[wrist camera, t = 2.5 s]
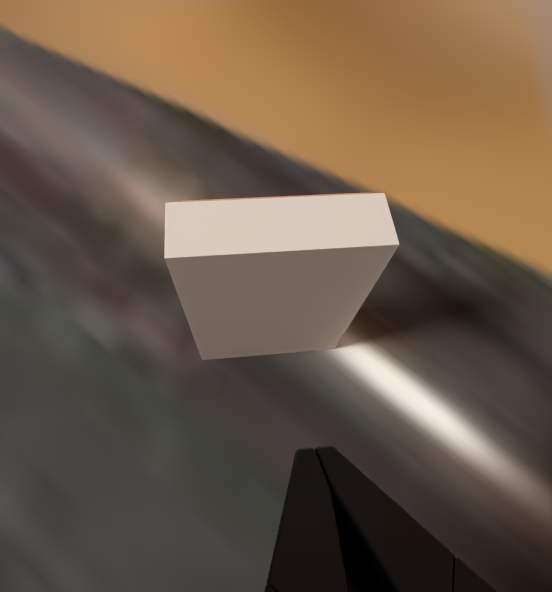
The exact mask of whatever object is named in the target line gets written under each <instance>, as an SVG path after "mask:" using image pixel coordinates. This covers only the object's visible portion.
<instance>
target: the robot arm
mask: <svg viewBox="0 0 552 592" xmlns="http://www.w3.org/2000/svg"><path fill="white" fill-rule="evenodd" d="M265 592H497V591H496V590H495V589H493V588H492V587H491V586H490V585H489V584H488V583H486V582H485V581H484V580H483V579H482V578H481V577H479V576H478V575H477V574H476V573H475V572H474V571H473V570H471V569H470V568H469V567H468V566H467V565H466V564H465V563H464V562H463V561H461V560H460V559H459V558H458V557H455V558H454V554H453V553H452V552H451V551H450V550H449V549H448V548H447V547H446V546H444V545H443V544H442V543H441V542H440V541H439V540H438V539H437V538H436V537H434V536H433V535H432V534H431V533H430V532H429V531H428V530H427V529H426V528H424V527H423V526H422V525H421V524H420V523H419V522H418V521H417V520H415V519H414V518H413V517H412V516H411V515H410V514H409V513H408V512H407V511H405V510H404V509H403V508H402V507H401V506H400V505H399V504H398V503H397V502H395V501H394V500H393V499H392V498H391V497H390V496H389V495H388V494H386V493H385V492H384V491H383V490H382V489H381V488H380V487H379V486H378V485H376V484H375V483H374V482H373V481H372V480H371V479H370V478H369V477H368V476H366V475H365V474H364V473H363V472H362V471H361V470H360V469H359V468H358V467H356V466H355V465H354V464H353V463H352V462H351V461H350V460H349V459H347V458H346V457H345V456H344V455H343V454H342V453H341V452H340V451H339V450H337V449H336V448H335V447H334V446H322V447H317V448H316V449H314V448H304V449H298V450H297V451H296V453H295V458H294V462H293V467H292V471H291V476H290V480H289V485H288V489H287V494H286V498H285V503H284V507H283V512H282V516H281V521H280V525H279V530H278V534H277V539H276V543H275V548H274V552H273V557H272V561H271V566H270V570H269V575H268V579H267V586H266V587H265Z"/></svg>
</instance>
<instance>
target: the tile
mask: <svg viewBox="0 0 552 592" xmlns="http://www.w3.org/2000/svg"><path fill="white" fill-rule="evenodd" d="M398 246H399V241H398V238H397V234H396V231H395V228H394V224H393V221H392V217H391V214H390V210H389V207H388V203H387V200H386V197H385V193H375V194H371V193H349V194H326V195H303V196H280V197H258V198H235V199H212V200H190V201H177V202H172V203H165V256H164V258H165V261H166V264H167V266H168V269H169V272H170V275H171V277H172V280H173V283H174V285H175V288H176V291H177V293H178V296H179V299H180V302H181V304H182V307H183V310H184V312H185V315H186V318H187V320H188V323H189V326H190V329H191V331H192V334H193V337H194V339H195V342H196V345H197V347H198V350H199V353H200V356H201V358H202V360H210V359H222V358H234V357H245V356H257V355H269V354H281V353H292V352H304V351H316V350H327V349H335V348H336V346H337V345H338V343H339V341H340V340H341V338H342V336H343V335H344V333H345V332H346V330H347V328H348V327H349V325H350V324H351V322H352V320H353V319H354V317H355V315H356V314H357V312H358V311H359V309H360V307H361V306H362V304H363V303H364V301H365V299H366V298H367V296H368V294H369V293H370V291H371V290H372V288H373V286H374V285H375V283H376V282H377V280H378V278H379V277H380V275H381V273H382V272H383V270H384V269H385V267H386V265H387V264H388V262H389V260H390V259H391V257H392V256H393V254H394V252H395V251H396V249H397V248H398Z"/></svg>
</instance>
